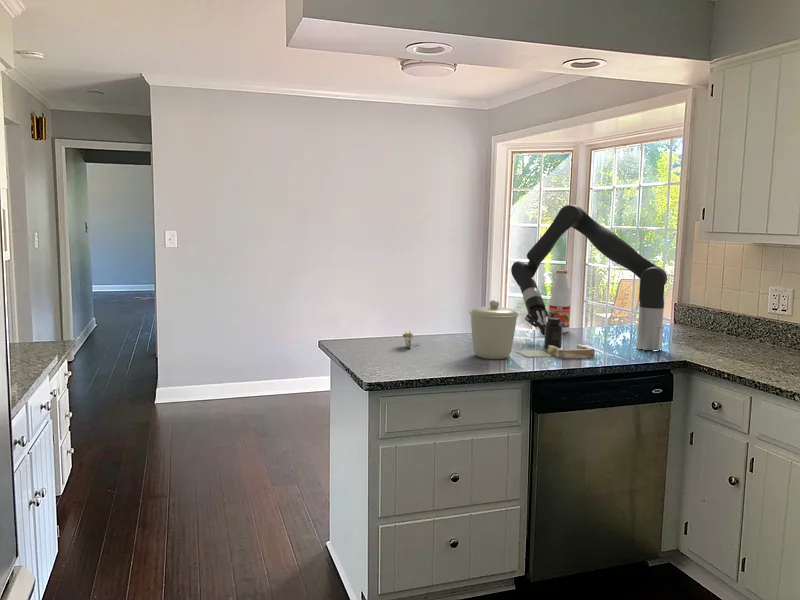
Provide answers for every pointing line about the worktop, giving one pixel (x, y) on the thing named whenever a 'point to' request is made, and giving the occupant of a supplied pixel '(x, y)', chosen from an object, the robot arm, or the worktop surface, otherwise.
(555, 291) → the fruit juice
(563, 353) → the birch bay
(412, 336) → the yellow figurine
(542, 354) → the sage tile
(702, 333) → the worktop surface
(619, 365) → the worktop surface
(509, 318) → the canister
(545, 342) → the supplement bottle
